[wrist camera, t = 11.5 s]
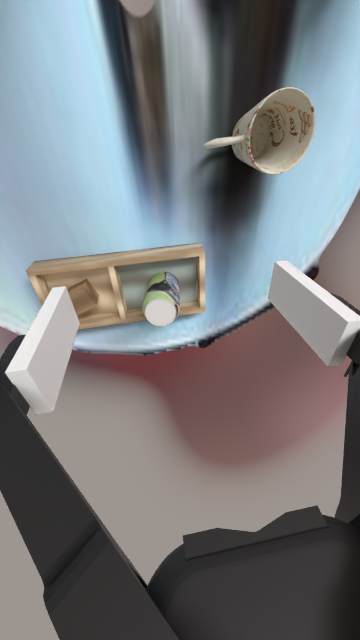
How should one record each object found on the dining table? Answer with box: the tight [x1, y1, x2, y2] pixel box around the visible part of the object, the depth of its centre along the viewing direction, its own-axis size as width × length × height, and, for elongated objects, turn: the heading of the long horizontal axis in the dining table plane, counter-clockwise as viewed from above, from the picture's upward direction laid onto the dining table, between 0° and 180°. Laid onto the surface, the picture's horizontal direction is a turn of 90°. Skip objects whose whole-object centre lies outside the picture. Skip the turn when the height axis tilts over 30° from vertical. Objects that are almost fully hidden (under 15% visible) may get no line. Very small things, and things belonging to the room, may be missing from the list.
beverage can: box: [142, 272, 180, 326], centre depth 42 cm, size 6×7×12 cm
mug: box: [204, 87, 315, 175], centre depth 33 cm, size 8×13×10 cm, turn 100°
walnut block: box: [67, 279, 99, 315], centre depth 44 cm, size 4×4×4 cm
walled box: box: [26, 243, 205, 329], centre depth 46 cm, size 13×30×4 cm, turn 94°
